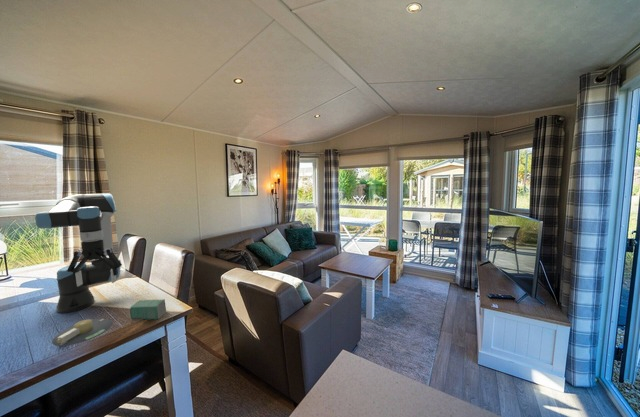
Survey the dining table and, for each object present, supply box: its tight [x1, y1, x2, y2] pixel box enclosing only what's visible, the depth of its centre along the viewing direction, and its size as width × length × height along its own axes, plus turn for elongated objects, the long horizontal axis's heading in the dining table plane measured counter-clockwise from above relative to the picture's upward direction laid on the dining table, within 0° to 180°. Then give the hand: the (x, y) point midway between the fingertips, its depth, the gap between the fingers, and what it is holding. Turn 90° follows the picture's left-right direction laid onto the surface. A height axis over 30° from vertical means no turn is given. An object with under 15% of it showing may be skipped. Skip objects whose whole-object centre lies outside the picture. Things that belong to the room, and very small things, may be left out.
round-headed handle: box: [57, 318, 93, 343], centre depth 109 cm, size 13×6×4 cm, turn 176°
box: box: [129, 298, 167, 321], centre depth 127 cm, size 7×14×8 cm, turn 93°
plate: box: [51, 318, 113, 347], centre depth 113 cm, size 20×20×2 cm
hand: (97, 283), depth 117 cm, fingers open, 13 cm apart
